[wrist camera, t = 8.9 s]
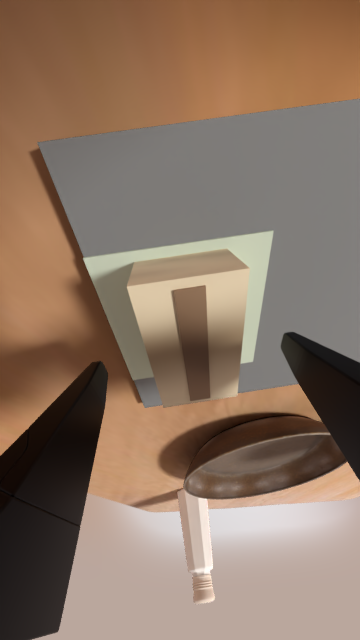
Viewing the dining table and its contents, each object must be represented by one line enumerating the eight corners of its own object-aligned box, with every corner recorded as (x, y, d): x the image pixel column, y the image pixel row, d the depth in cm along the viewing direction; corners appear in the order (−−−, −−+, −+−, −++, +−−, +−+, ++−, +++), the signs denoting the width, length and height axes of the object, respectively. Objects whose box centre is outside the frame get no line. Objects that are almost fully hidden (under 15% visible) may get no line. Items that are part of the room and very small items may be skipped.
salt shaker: (211, 484, 32) (232, 598, 23) (201, 494, 35) (216, 599, 26) (181, 486, 31) (190, 606, 22) (173, 496, 34) (178, 606, 25)
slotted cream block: (223, 361, 14) (237, 397, 11) (162, 371, 14) (163, 409, 11) (226, 248, 9) (250, 269, 7) (134, 262, 9) (126, 287, 7)
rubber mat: (559, 75, 7) (596, 65, 7) (364, 367, 17) (372, 374, 17) (45, 145, 7) (34, 141, 6) (145, 401, 17) (144, 409, 16)
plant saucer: (332, 451, 30) (350, 477, 27) (209, 483, 33) (214, 510, 30) (341, 377, 18) (373, 410, 16) (151, 438, 22) (151, 474, 19)
